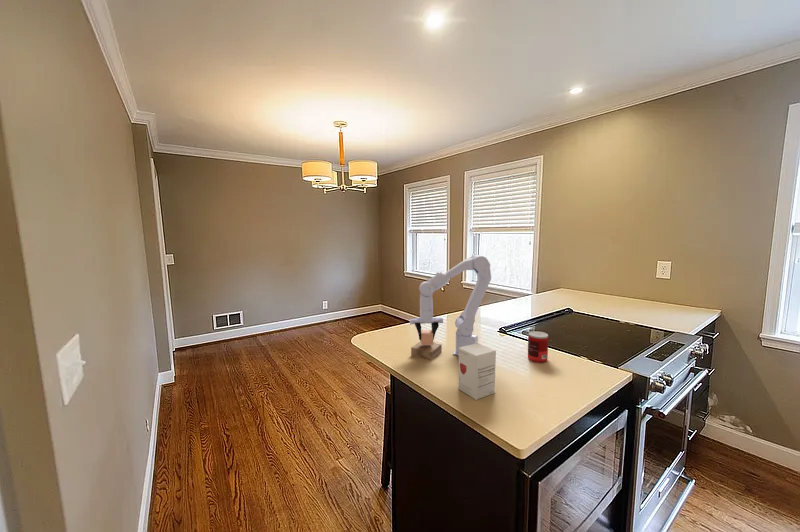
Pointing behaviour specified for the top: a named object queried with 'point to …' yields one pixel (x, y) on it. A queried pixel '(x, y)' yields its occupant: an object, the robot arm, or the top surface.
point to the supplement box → (477, 370)
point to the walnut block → (426, 350)
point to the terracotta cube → (426, 337)
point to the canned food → (537, 346)
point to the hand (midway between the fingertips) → (426, 339)
